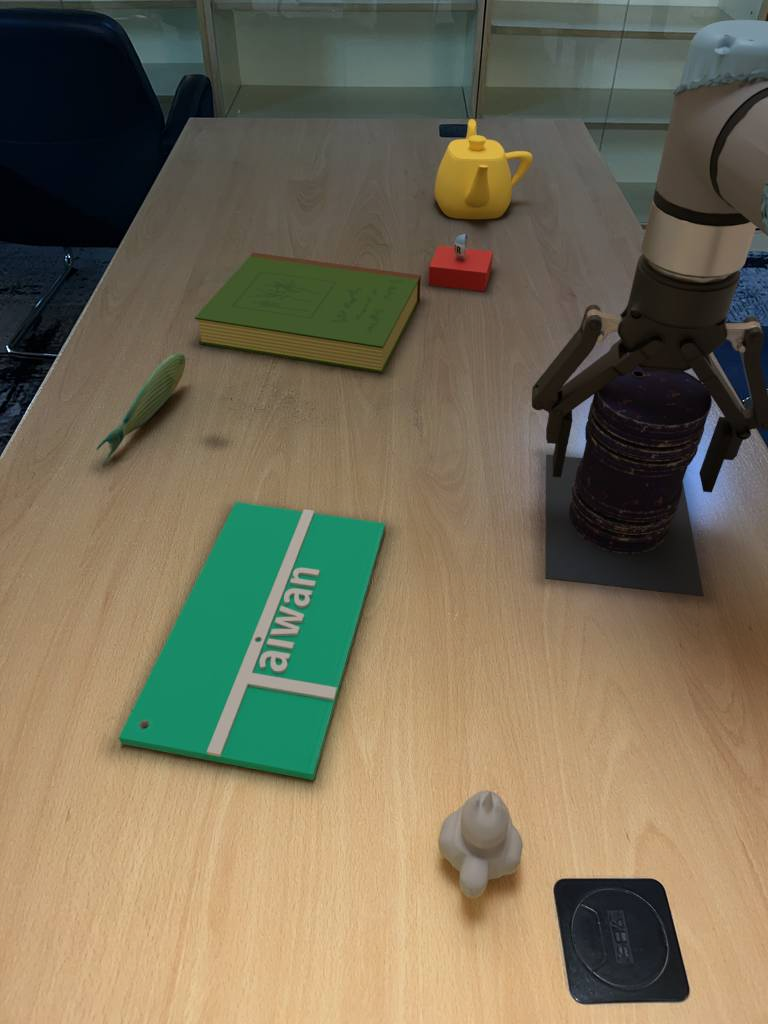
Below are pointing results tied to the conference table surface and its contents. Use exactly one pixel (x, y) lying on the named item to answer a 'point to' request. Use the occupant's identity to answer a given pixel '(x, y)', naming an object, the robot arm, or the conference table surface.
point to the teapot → (477, 177)
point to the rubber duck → (480, 842)
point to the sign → (261, 642)
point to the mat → (590, 564)
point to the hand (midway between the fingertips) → (630, 475)
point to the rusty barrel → (637, 458)
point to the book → (311, 311)
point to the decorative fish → (148, 399)
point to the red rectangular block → (460, 266)
